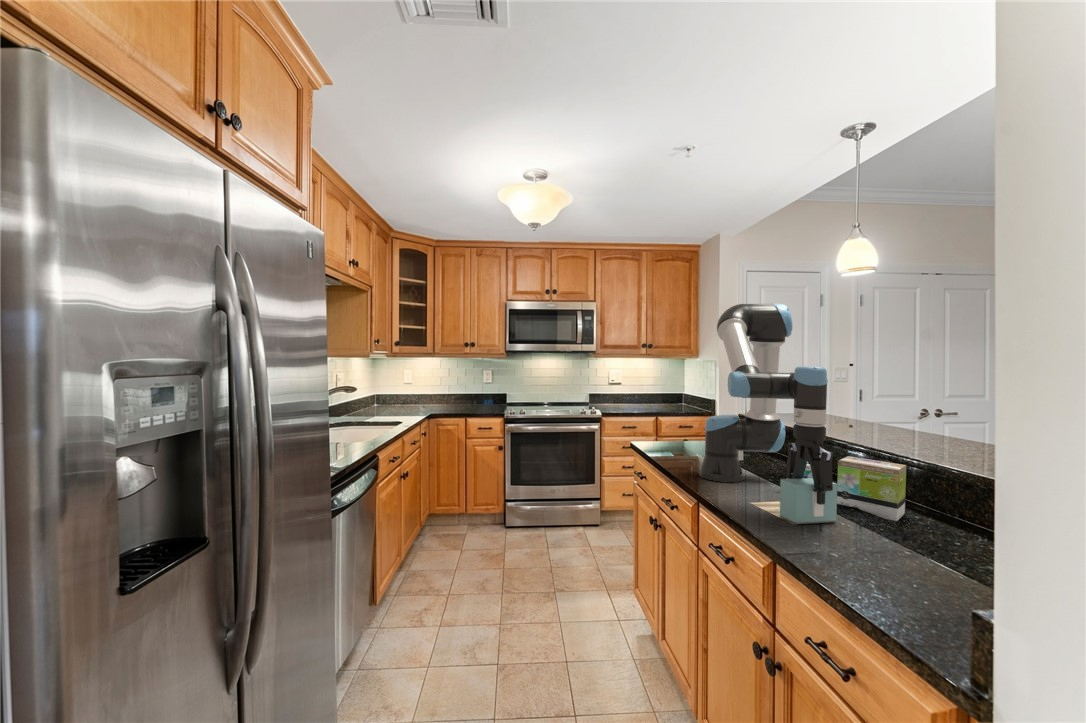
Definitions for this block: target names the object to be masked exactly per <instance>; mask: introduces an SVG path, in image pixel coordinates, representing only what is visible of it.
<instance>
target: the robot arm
mask: <svg viewBox="0 0 1086 723" xmlns="http://www.w3.org/2000/svg"><path fill="white" fill-rule="evenodd" d="M792 317H793V316H792V313H791V311H790V308H789V307H788V306H787V305H785V304H782V303H773V302H772V303H738V304H736V305H733V306H730V307H729V308H727V309H726V310H725V311H724V312H722V313H721V316H720V317H719V318H718V320H717V323H716V332H717V335H718V338H719V339H720V340H721V341H723V345H724V349H725V352H726V355H727V359H728V364H729V366H730V369H731V372H729V373H728V376H727V392H728V395H729V396H730V397H733V398H742V399H750V400H749V402H750V403H749V410H748V411H746V413H745V414H744V418H740V417H739V415H737V414H720V415H714V416H709V417H707V419H706V420H705V428H704V433H705V434H704V435H705V439H704V458H703V460H702V462H701V465H700V469H699V477H700V476H701V478H702V479H704V478H705V479H704V480H707V479H708V480H707V481H711V480H713V481H712V482H716V481H719V482H718V483H727V482H734V483H741V482H743V481H744V474H743V473H744V472H743V468H742V466H741V463H740V461H739V451H740V452H757V453H758V452H760V453H766V454H767V453H777V452H779V451H780V450H781V449H782V448H783V446H784V444H785V439H786V425H785V423H784V421H782V420H781V416H780V415H779V414H778V413H777V400H778V399H780V400H781V399H782V400H793V422H794V423H795V424H794V425H793V430H792V433H793V434H792V436H793V438H794V439H795V442H789V443H787V444H786V447H787V460H788V462H787V464H786V479H787V478H788V479H803V476H804V472H805V469H806V465H807V462H808V464H809V465H810V466H811V471H812V476H813V481H814V486H815V489H814V490H813V494H812V516H814V517H818V516H823V510H824V504H825V492H826V491H832V490H833V483H834V482H833V458H834V453H833V452H832V451H828V450H826V449H825V447H824V442H825V441H826V439H827V427H826V425H827V402H828V401H827V400H828V399H827V397H828V396H827V395H828V372H827V368H826V367H823V366H797V367H795V368H794V372H779V366H780V352H781V351H780V350H781V347H782V345H784V344H785V342H786V338H788V337H790V336H791V335H792V331H793V318H792ZM751 345H752V346H751ZM752 347H753V348H752ZM791 473H793V474H791ZM742 480H743V481H742ZM740 481H741V482H740ZM820 485H821V487H820Z"/></svg>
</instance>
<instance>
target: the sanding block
mask: <svg viewBox="0 0 1086 723" xmlns="http://www.w3.org/2000/svg"><path fill="white" fill-rule="evenodd" d="M820 487H821V485H820ZM814 489H815V486H814V481H813V478H804V479H787V478H780V488H779V490H780V493H779V501H780V517H782V518H784V519H786V520H788V521H790V522H793V523H795V524H794V525H803V524H804V525H806V524H823V523H837V509H838V508H837V507H838V506H837V505H838V504H837V483H836V482H833V490H832V491H826V492H825V504H824V510H823V516H818V517H814V516H812V494H813V490H814ZM782 518H781V519H782ZM784 519H783V520H784ZM786 520H785V521H786ZM788 521H787V522H788ZM790 522H789V523H790Z"/></svg>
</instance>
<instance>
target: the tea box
mask: <svg viewBox="0 0 1086 723" xmlns="http://www.w3.org/2000/svg"><path fill="white" fill-rule="evenodd" d="M836 482H837V483H836V484H837V505H842V506H844V507H845V506H846V507H850V508H851V507H852V508H856V509H857V510H860V511H863V512H866V513H869V514H871V515H875V516H876V517H879V518H883V519H885V520H888V521H889V520H890V521H892V522H898V521H899V520H900V519H901V518H902V517H903V516H904V515H905V511H906V492H907V490H906V484H907V464H901V463H900V464H899V463H894V462H888V461H882V460H874V459H869V458H862V457H856V456H850V455H849V456H848V455H847V456H845V457H843V458H841V459H839V460H837V481H836Z"/></svg>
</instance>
